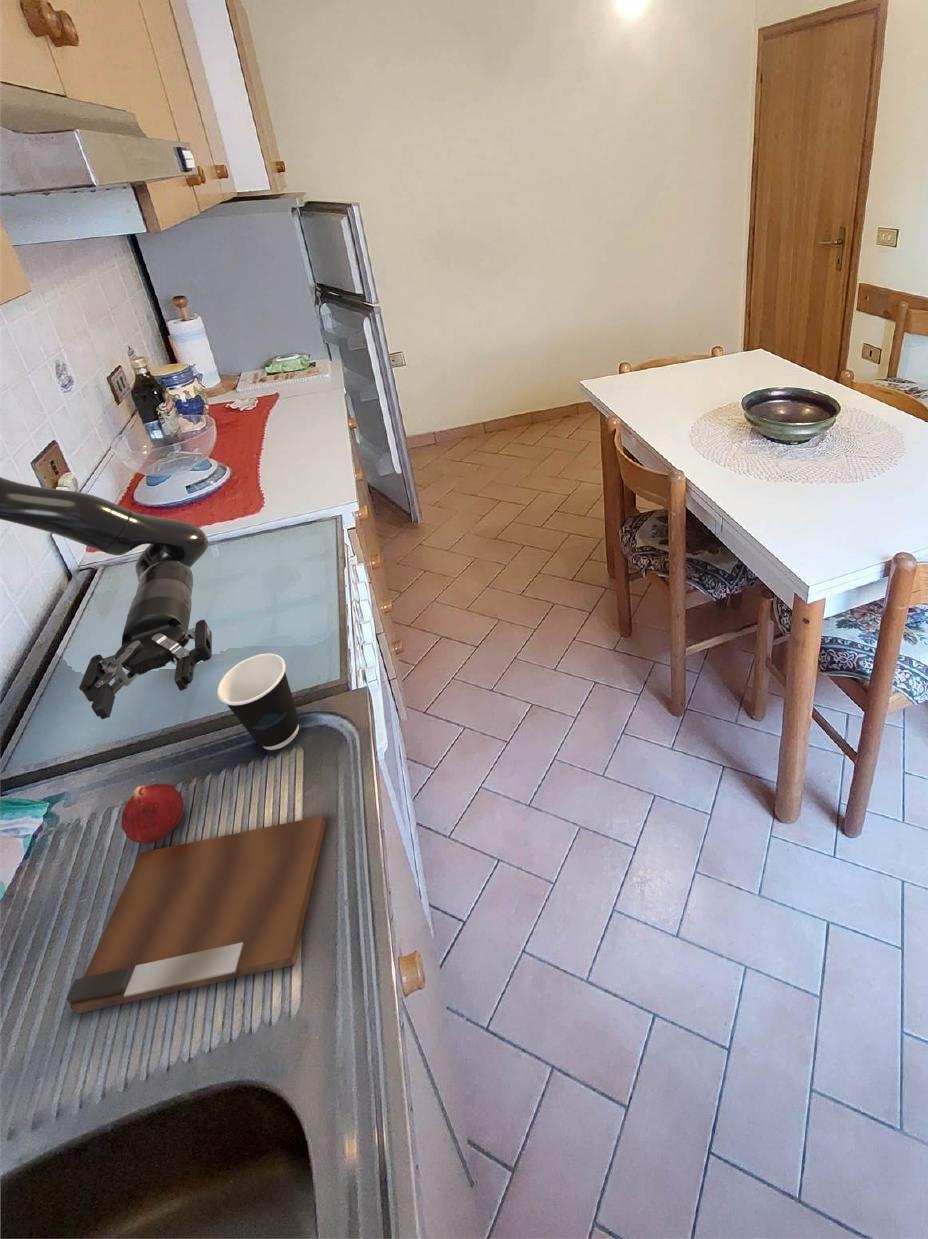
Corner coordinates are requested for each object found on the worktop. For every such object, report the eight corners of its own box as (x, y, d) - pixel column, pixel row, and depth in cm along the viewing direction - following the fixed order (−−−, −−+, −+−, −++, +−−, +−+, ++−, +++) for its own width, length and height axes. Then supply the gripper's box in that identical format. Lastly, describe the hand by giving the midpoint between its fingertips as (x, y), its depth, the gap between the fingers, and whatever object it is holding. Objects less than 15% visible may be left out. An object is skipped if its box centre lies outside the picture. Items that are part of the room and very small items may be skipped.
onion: (196, 836, 74) (167, 795, 70) (139, 868, 71) (106, 827, 68) (191, 798, 78) (164, 757, 75) (137, 826, 76) (106, 786, 72)
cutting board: (75, 1017, 60) (62, 1005, 59) (145, 860, 72) (136, 847, 71) (294, 968, 62) (286, 955, 61) (326, 823, 74) (319, 810, 73)
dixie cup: (278, 769, 81) (247, 711, 76) (234, 750, 84) (202, 693, 79) (323, 718, 87) (298, 661, 82) (281, 702, 90) (254, 646, 85)
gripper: (223, 617, 96) (216, 696, 83) (114, 654, 91) (89, 744, 78) (204, 579, 92) (193, 656, 79) (89, 615, 88) (58, 703, 75)
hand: (141, 699), depth 79 cm, fingers open, 8 cm apart
